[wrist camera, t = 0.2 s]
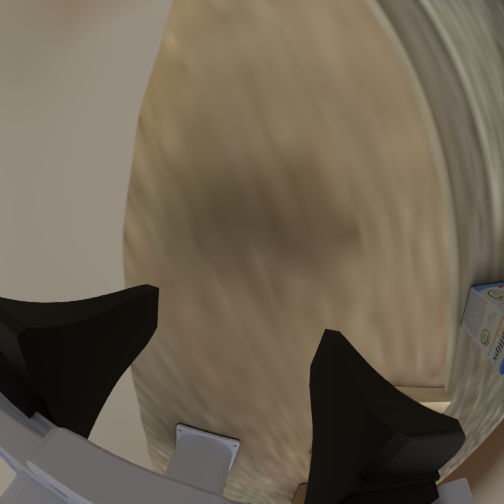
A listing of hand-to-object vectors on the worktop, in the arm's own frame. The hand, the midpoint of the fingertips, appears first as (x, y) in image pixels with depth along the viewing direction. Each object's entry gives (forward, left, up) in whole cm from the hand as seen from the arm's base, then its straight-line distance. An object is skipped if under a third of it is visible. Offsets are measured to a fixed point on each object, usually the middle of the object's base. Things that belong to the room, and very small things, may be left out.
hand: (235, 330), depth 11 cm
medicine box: (+1, -24, -10) cm, 26 cm away
